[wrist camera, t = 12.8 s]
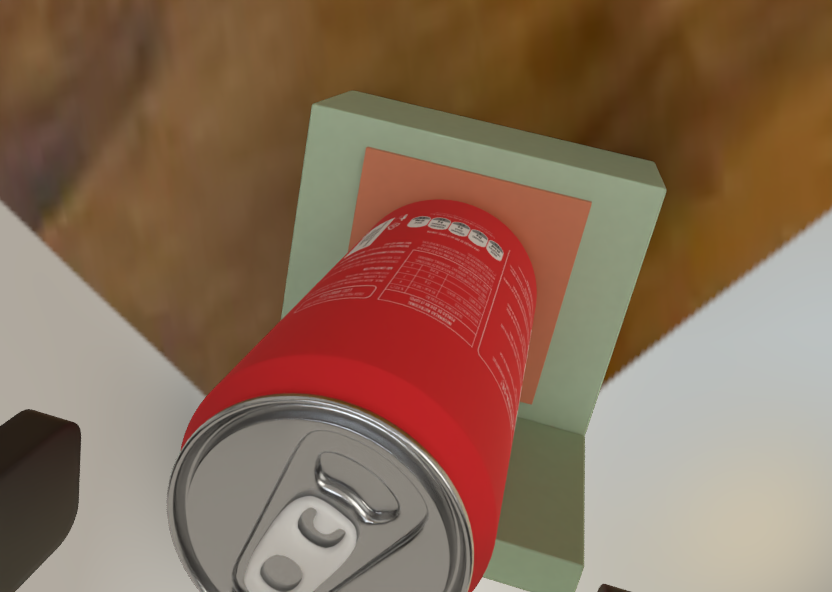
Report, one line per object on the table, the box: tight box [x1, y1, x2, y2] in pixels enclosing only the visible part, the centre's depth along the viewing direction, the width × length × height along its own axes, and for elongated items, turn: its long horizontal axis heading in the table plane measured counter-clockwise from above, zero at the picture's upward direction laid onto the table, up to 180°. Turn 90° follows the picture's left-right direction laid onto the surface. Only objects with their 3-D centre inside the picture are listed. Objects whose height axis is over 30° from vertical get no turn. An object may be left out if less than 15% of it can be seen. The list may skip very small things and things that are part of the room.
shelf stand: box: [281, 90, 666, 592], centre depth 22 cm, size 10×9×10 cm
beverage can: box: [167, 199, 537, 592], centre depth 17 cm, size 5×5×12 cm
